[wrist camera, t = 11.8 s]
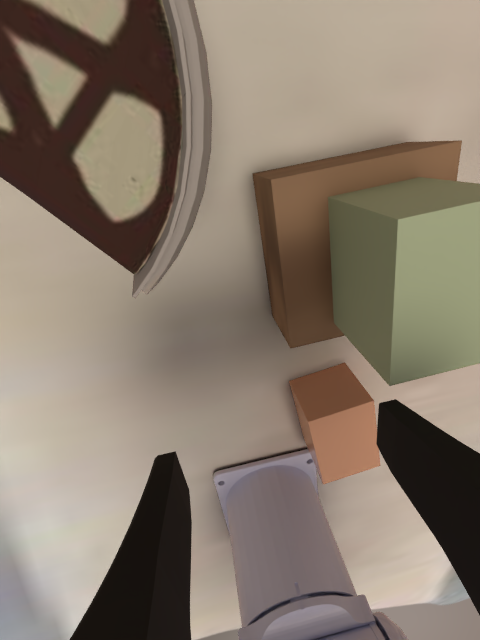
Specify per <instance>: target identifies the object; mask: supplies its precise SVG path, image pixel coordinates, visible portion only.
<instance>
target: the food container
mask: <svg viewBox="0 0 480 640" xmlns="http://www.w3.org/2000/svg"><path fill="white" fill-rule="evenodd" d="M211 127H212V100H211V91H210V82H209V73H208V64H207V55H206V50H205V45H204V41H203V37H202V33H201V29H200V24H199V20H198V16H197V12H196V8H195V3H194V0H0V177H1V178H3V179H4V180H6V181H7V182H8V183H10V184H11V185H13V186H14V187H16V188H17V189H18V190H20V191H21V192H23V193H24V194H26V195H27V196H28V197H30V198H31V199H32V200H34V201H35V202H36V203H38V204H39V205H41V206H42V207H43V208H45V209H46V210H47V211H49V212H50V213H51V214H53V215H54V216H55V217H57V218H58V219H60V220H61V221H62V222H64V223H65V224H66V225H68V226H69V227H70V228H72V229H73V230H74V231H76V232H77V233H79V234H80V235H81V236H83V237H84V238H85V239H87V240H88V241H89V242H91V243H92V244H93V245H95V246H96V247H98V248H99V249H100V250H102V251H103V252H104V253H106V254H107V255H108V256H110V257H111V258H113V259H114V260H115V261H117V262H118V263H119V264H121V265H122V266H123V267H125V268H126V269H127V270H129V271H130V272H132V273H133V274H134V281H133V295H132V297H134V298H135V299H136V297H137V296H138V294H139V293H140V291H141V290H142V291H143V292H144V293H146V294H148V293H149V292H150V291H151V290H152V289H153V288H154V287H155V286H156V285H157V284H158V283H159V282H160V280H161V279H162V277H163V276H164V275H165V273H166V272H167V270H168V269H169V268H170V266H171V265H172V264H173V262H174V261H175V259H176V258H177V256H178V254H179V253H180V251H181V249H182V247H183V245H184V243H185V241H186V239H187V237H188V235H189V233H190V231H191V229H192V227H193V224H194V221H195V218H196V215H197V212H198V209H199V206H200V203H201V199H202V196H203V193H204V190H205V184H206V178H207V172H208V165H209V159H210V153H211Z"/></svg>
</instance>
